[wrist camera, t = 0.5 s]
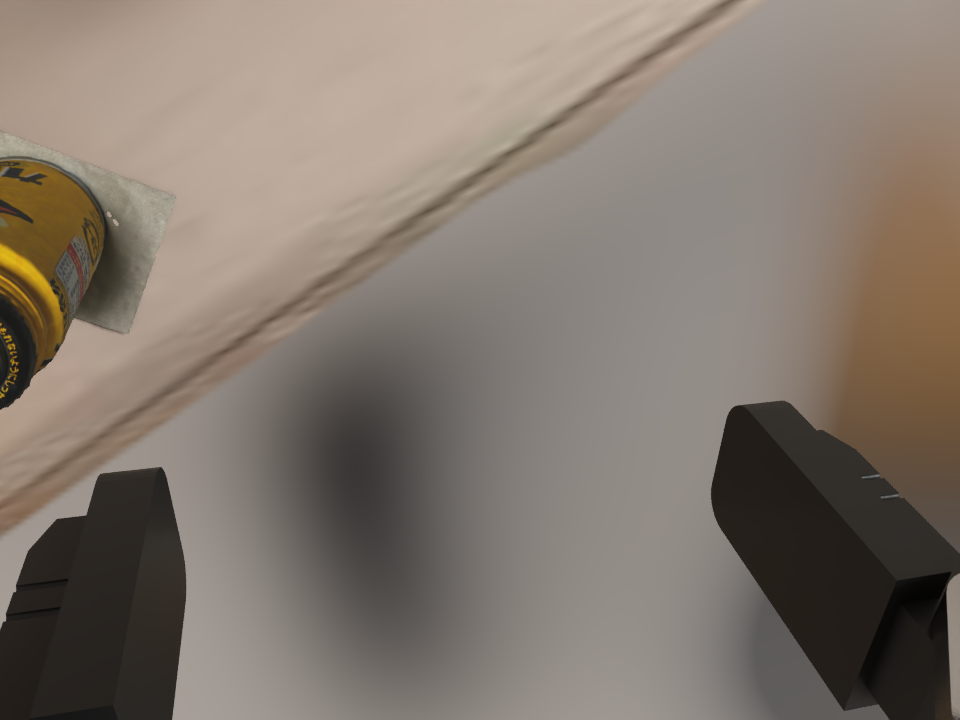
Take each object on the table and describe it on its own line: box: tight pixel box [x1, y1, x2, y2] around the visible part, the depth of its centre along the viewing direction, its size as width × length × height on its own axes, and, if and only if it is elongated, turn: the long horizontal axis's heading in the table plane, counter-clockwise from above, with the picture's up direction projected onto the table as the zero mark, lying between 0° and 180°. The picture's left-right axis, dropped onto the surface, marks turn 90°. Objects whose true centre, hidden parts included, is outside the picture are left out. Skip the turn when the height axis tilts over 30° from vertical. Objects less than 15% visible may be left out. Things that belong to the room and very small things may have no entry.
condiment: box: [0, 131, 176, 410], centre depth 31 cm, size 7×8×12 cm
